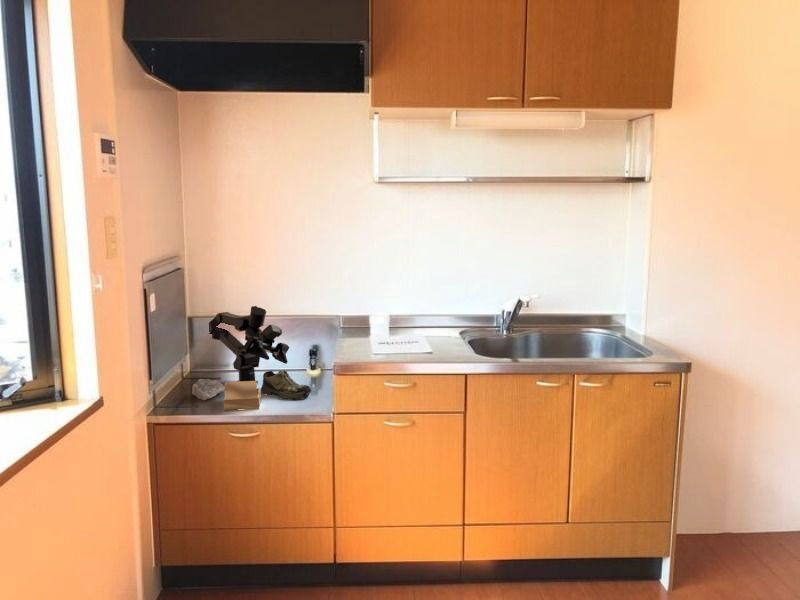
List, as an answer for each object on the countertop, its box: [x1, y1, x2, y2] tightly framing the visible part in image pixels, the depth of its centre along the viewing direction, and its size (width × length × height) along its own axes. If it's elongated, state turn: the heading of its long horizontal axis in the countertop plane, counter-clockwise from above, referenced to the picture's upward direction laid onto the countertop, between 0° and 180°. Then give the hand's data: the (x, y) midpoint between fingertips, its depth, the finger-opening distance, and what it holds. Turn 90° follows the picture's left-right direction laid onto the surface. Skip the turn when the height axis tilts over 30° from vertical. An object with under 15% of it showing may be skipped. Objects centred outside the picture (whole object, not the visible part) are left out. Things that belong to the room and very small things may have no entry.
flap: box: [224, 380, 258, 400], centre depth 235 cm, size 6×11×1 cm
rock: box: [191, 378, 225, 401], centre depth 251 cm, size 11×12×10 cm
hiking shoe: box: [260, 369, 312, 401], centre depth 252 cm, size 8×21×9 cm, turn 66°
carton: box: [223, 387, 262, 411], centre depth 242 cm, size 12×12×4 cm
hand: (277, 360), depth 248 cm, fingers open, 9 cm apart
